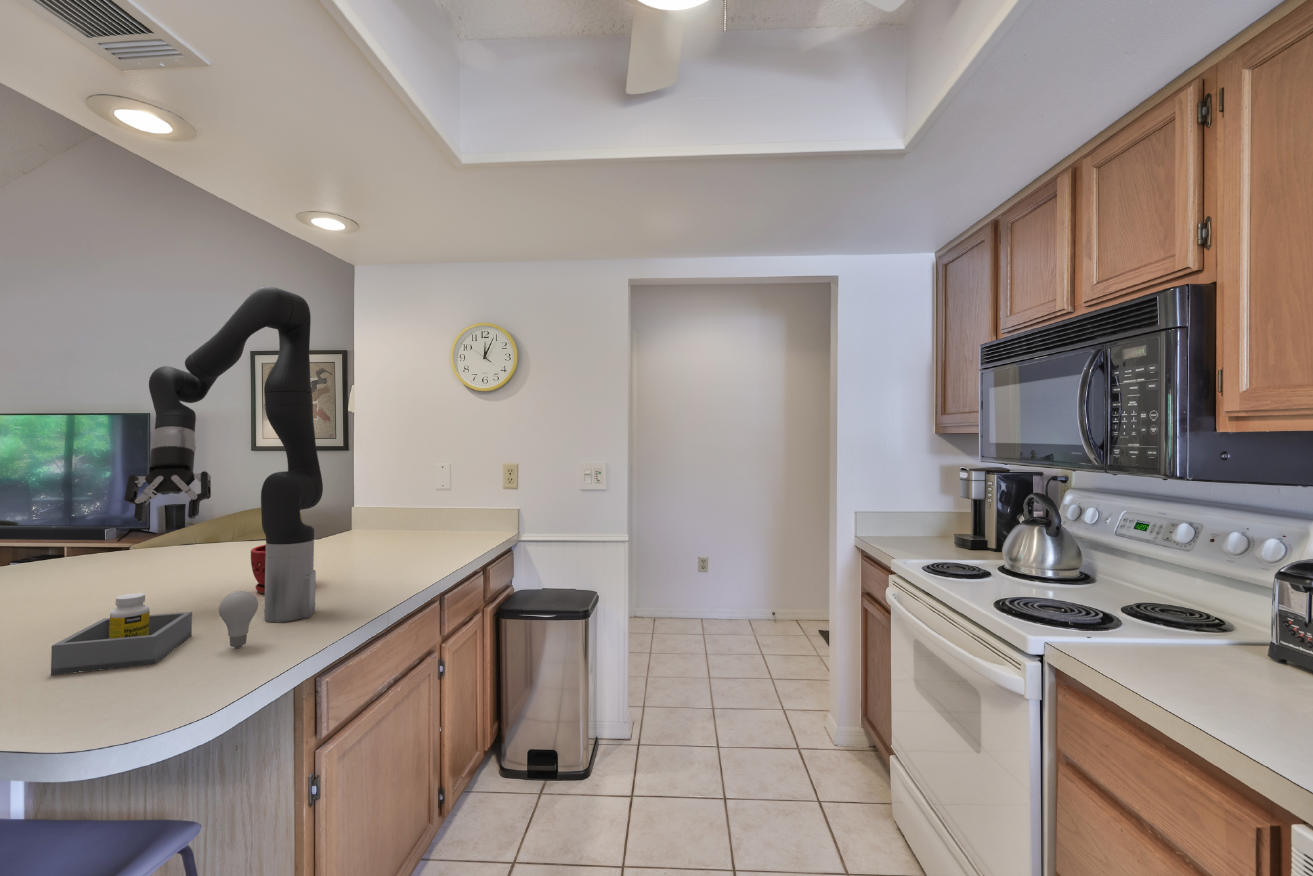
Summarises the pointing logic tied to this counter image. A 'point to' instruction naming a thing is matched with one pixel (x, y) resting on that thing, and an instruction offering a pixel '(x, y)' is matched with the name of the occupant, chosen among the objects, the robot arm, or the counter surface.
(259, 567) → the plant pot
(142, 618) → the supplement bottle
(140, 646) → the tote
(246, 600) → the lightbulb
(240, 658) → the counter surface
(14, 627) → the counter surface
